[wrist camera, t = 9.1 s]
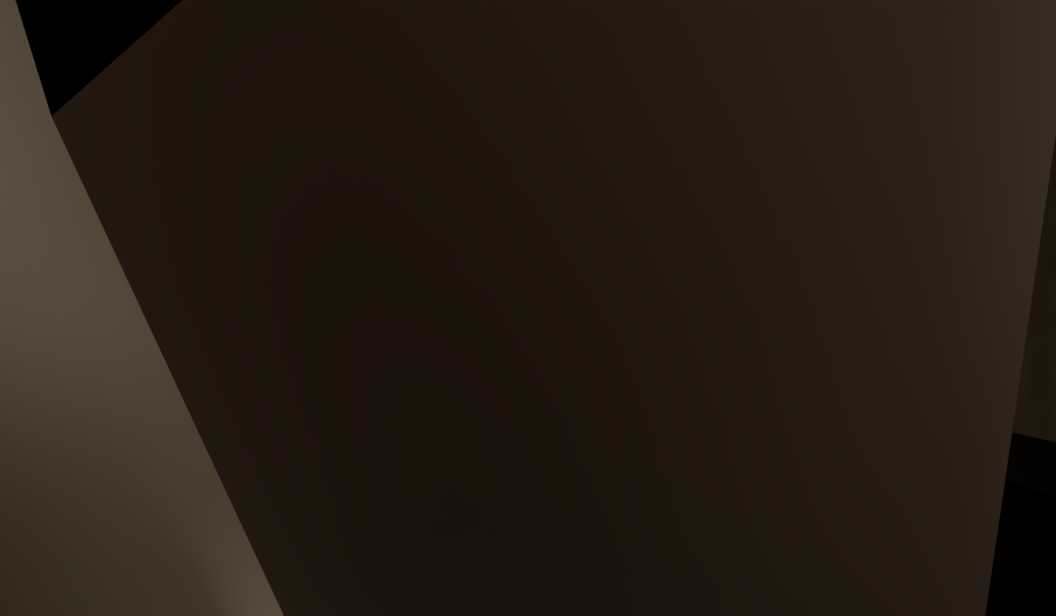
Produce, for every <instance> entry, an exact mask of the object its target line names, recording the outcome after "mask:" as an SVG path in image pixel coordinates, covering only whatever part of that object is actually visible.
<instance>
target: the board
mask: <svg viewBox="0 0 1056 616" xmlns="http://www.w3.org/2000/svg"><path fill="white" fill-rule="evenodd" d="M0 616H284V615H283V613H282V611H281V609H280V607H279V604H278V602H277V600H276V598H275V596H274V594H273V592H272V589H271V587H270V585H269V583H268V581H267V579H266V577H265V574H264V572H263V570H262V568H261V566H260V564H259V561H258V559H257V557H256V555H255V553H254V551H253V549H252V546H251V544H250V542H249V540H248V538H247V536H246V534H245V531H244V529H243V527H242V525H241V523H240V521H239V519H238V516H237V514H236V512H235V510H234V508H233V506H232V503H231V501H230V499H229V497H228V495H227V493H226V491H225V488H224V486H223V484H222V482H221V480H220V478H219V476H218V473H217V471H216V469H215V467H214V465H213V463H212V461H211V458H210V456H209V454H208V452H207V450H206V448H205V446H204V443H203V441H202V439H201V437H200V435H199V433H198V430H197V428H196V426H195V424H194V422H193V420H192V418H191V415H190V413H189V411H188V409H187V407H186V405H185V403H184V400H183V398H182V396H181V394H180V392H179V390H178V388H177V385H176V383H175V381H174V379H173V377H172V375H171V372H170V370H169V368H168V366H167V364H166V362H165V360H164V357H163V355H162V353H161V351H160V349H159V347H158V345H157V342H156V340H155V338H154V336H153V334H152V332H151V330H150V327H149V325H148V323H147V321H146V319H145V317H144V314H143V312H142V310H141V308H140V306H139V304H138V302H137V299H136V297H135V295H134V293H133V291H132V289H131V287H130V284H129V282H128V280H127V278H126V276H125V274H124V272H123V269H122V267H121V265H120V263H119V261H118V259H117V256H116V254H115V252H114V250H113V248H112V246H111V244H110V241H109V239H108V237H107V235H106V233H105V231H104V229H103V226H102V224H101V222H100V220H99V218H98V216H97V214H96V211H95V209H94V207H93V205H92V203H91V201H90V198H89V196H88V194H87V192H86V190H85V188H84V186H83V183H82V181H81V179H80V177H79V175H78V173H77V171H76V168H75V166H74V164H73V162H72V160H71V158H70V156H69V153H68V151H67V149H66V147H65V145H64V143H63V140H62V138H61V136H60V134H59V132H58V130H57V128H56V125H55V123H54V121H53V119H52V117H51V114H50V111H49V107H48V104H47V101H46V98H45V94H44V91H43V88H42V85H41V81H40V78H39V75H38V72H37V69H36V65H35V62H34V59H33V56H32V52H31V49H30V46H29V43H28V39H27V36H26V33H25V30H24V26H23V23H22V20H21V17H20V14H19V10H18V7H17V4H16V1H15V0H0Z"/></svg>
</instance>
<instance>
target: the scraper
mask: <svg viewBox="0 0 1056 616" xmlns="http://www.w3.org/2000/svg"><path fill="white" fill-rule="evenodd" d="M15 1H16V4H17V7H18V10H19V14H20V17H21V20H22V23H23V26H24V30H25V33H26V36H27V39H28V43H29V46H30V49H31V52H32V56H33V59H34V62H35V65H36V69H37V72H38V75H39V78H40V81H41V85H42V88H43V91H44V94H45V98H46V101H47V104H48V107H49V111H50V114H51V117H52V119H53V121H54V123H55V125H56V128H57V130H58V132H59V134H60V136H61V138H62V140H63V143H64V145H65V147H66V149H67V151H68V153H69V156H70V158H71V160H72V162H73V164H74V166H75V168H76V171H77V173H78V175H79V177H80V179H81V181H82V183H83V186H84V188H85V190H86V192H87V194H88V196H89V198H90V201H91V203H92V205H93V207H94V209H95V211H96V214H97V216H98V218H99V220H100V222H101V224H102V226H103V229H104V231H105V233H106V235H107V237H108V239H109V241H110V244H111V246H112V248H113V250H114V252H115V254H116V256H117V259H118V261H119V263H120V265H121V267H122V269H123V272H124V274H125V276H126V278H127V280H128V282H129V284H130V287H131V289H132V291H133V293H134V295H135V297H136V299H137V302H138V304H139V306H140V308H141V310H142V312H143V314H144V317H145V319H146V321H147V323H148V325H149V327H150V330H151V332H152V334H153V336H154V338H155V340H156V342H157V345H158V347H159V349H160V351H161V353H162V355H163V357H164V360H165V362H166V364H167V366H168V368H169V370H170V372H171V375H172V377H173V379H174V381H175V383H176V385H177V388H178V390H179V392H180V394H181V396H182V398H183V400H184V403H185V405H186V407H187V409H188V411H189V413H190V415H191V418H192V420H193V422H194V424H195V426H196V428H197V430H198V433H199V435H200V437H201V439H202V441H203V443H204V446H205V448H206V450H207V452H208V454H209V456H210V458H211V461H212V463H213V465H214V467H215V469H216V471H217V473H218V476H219V478H220V480H221V482H222V484H223V486H224V488H225V491H226V493H227V495H228V497H229V499H230V501H231V503H232V506H233V508H234V510H235V512H236V514H237V516H238V519H239V521H240V523H241V525H242V527H243V529H244V531H245V534H246V536H247V538H248V540H249V542H250V544H251V546H252V549H253V551H254V553H255V555H256V557H257V559H258V561H259V564H260V566H261V568H262V570H263V572H264V574H265V577H266V579H267V581H268V583H269V585H270V587H271V589H272V592H273V594H274V596H275V598H276V600H277V602H278V604H279V607H280V609H281V611H282V613H283V615H284V616H985V614H986V607H987V600H988V593H989V586H990V579H991V573H992V566H993V559H994V552H995V545H996V538H997V532H998V525H999V518H1000V511H1001V504H1002V498H1003V491H1004V484H1005V477H1006V470H1007V463H1008V457H1009V450H1010V443H1011V436H1012V429H1013V423H1014V416H1015V409H1016V402H1017V395H1018V388H1019V382H1020V375H1021V368H1022V361H1023V354H1024V348H1025V341H1026V334H1027V327H1028V320H1029V313H1030V307H1031V300H1032V293H1033V286H1034V279H1035V273H1036V266H1037V259H1038V252H1039V245H1040V238H1041V232H1042V225H1043V218H1044V211H1045V204H1046V197H1047V191H1048V184H1049V177H1050V170H1051V163H1052V157H1053V150H1054V143H1055V136H1056V0H15Z"/></svg>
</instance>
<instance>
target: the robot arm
mask: <svg viewBox="0 0 1056 616" xmlns="http://www.w3.org/2000/svg"><path fill="white" fill-rule="evenodd" d="M985 616H1056V442H1052V441H1047V440H1043V439H1038V438H1034V437H1029V436H1025V435H1020V434H1016V433H1012V436H1011V443H1010V450H1009V457H1008V463H1007V470H1006V477H1005V484H1004V491H1003V498H1002V504H1001V511H1000V518H999V525H998V532H997V538H996V545H995V552H994V559H993V566H992V573H991V579H990V586H989V593H988V600H987V607H986V614H985Z"/></svg>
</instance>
